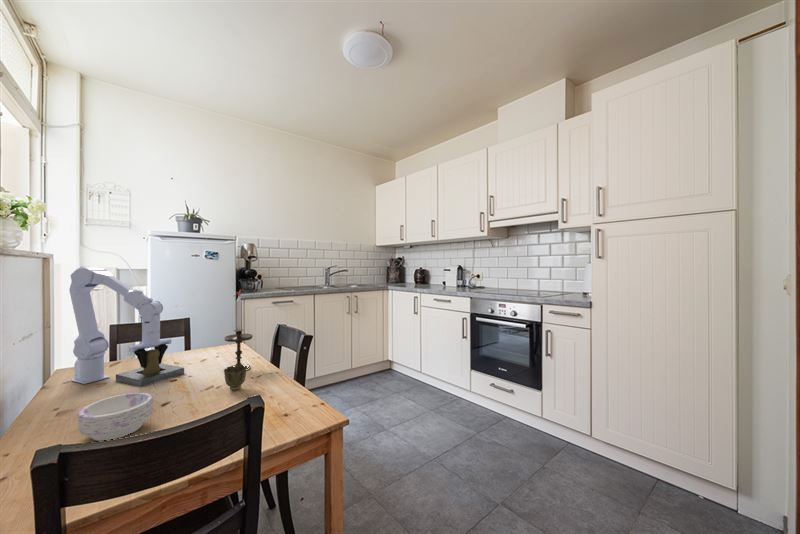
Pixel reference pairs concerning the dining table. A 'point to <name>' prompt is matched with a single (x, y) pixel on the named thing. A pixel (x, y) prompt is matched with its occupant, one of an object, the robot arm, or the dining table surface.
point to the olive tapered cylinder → (152, 362)
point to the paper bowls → (115, 416)
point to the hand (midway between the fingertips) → (151, 365)
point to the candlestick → (238, 333)
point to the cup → (235, 376)
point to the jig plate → (141, 380)
